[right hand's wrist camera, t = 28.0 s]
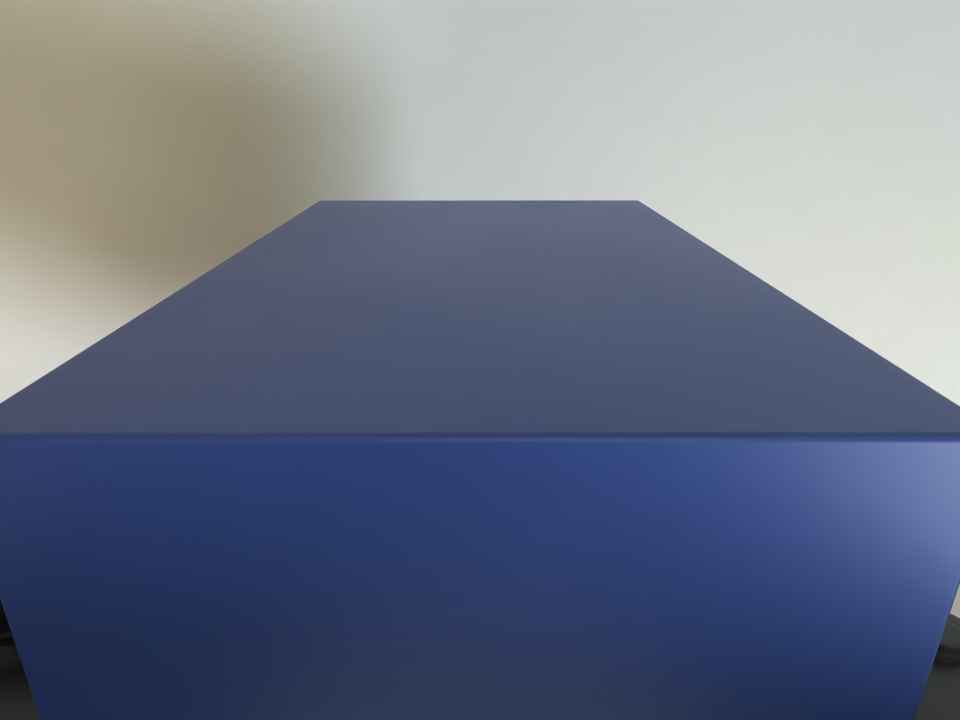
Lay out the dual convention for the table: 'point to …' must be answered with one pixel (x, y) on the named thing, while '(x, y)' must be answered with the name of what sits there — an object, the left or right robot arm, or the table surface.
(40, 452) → the block
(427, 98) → the table surface
